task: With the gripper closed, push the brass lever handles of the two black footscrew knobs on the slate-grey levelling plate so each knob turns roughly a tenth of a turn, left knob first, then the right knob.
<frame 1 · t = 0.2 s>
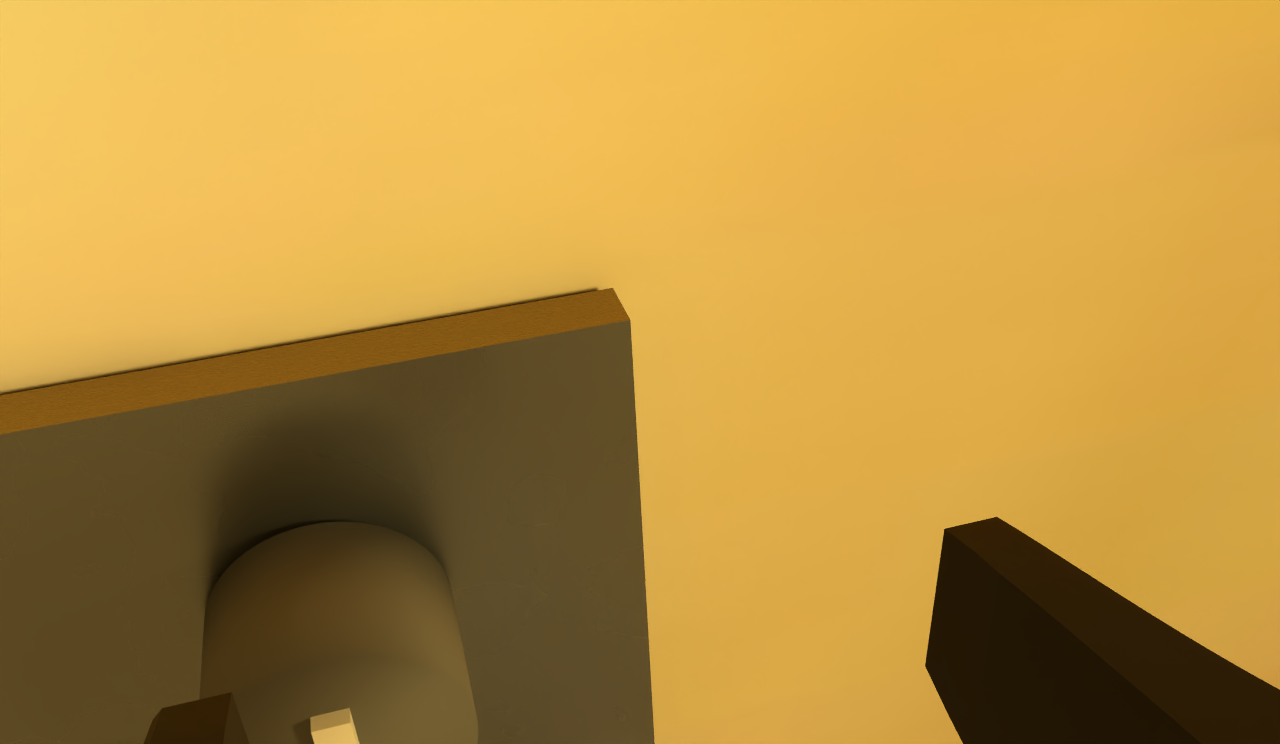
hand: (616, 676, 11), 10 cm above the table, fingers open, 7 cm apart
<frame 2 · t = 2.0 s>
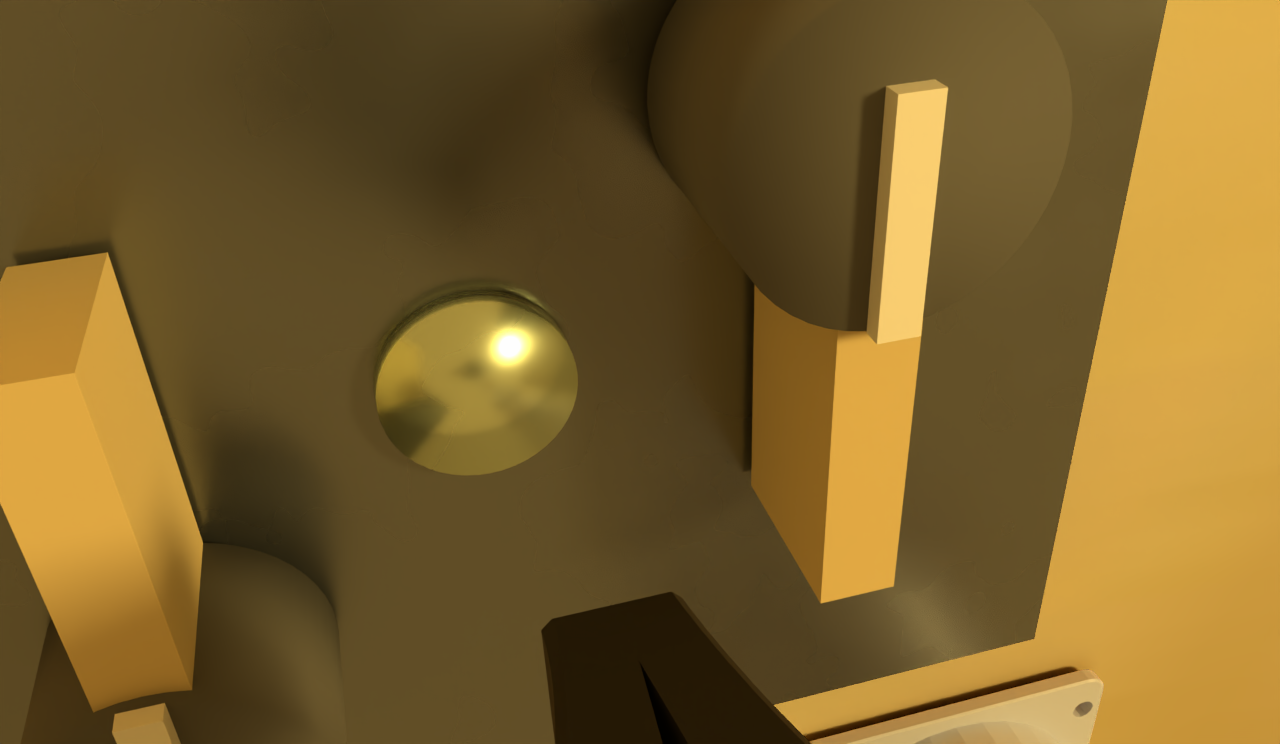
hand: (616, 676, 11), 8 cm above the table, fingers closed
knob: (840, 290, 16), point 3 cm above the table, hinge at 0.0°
levelling plate: (464, 340, 18), on the table
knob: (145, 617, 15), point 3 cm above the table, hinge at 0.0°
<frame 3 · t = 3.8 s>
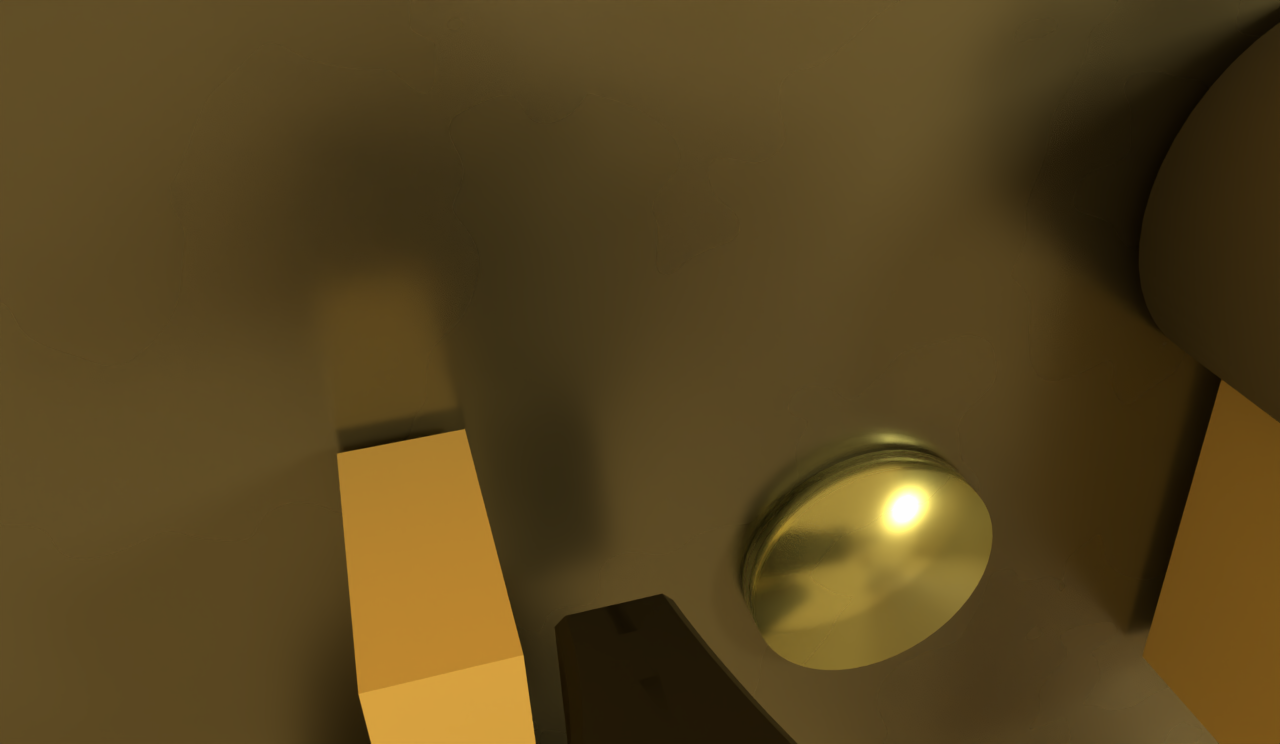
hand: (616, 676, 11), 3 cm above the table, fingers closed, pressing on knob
levelling plate: (820, 492, 14), on the table
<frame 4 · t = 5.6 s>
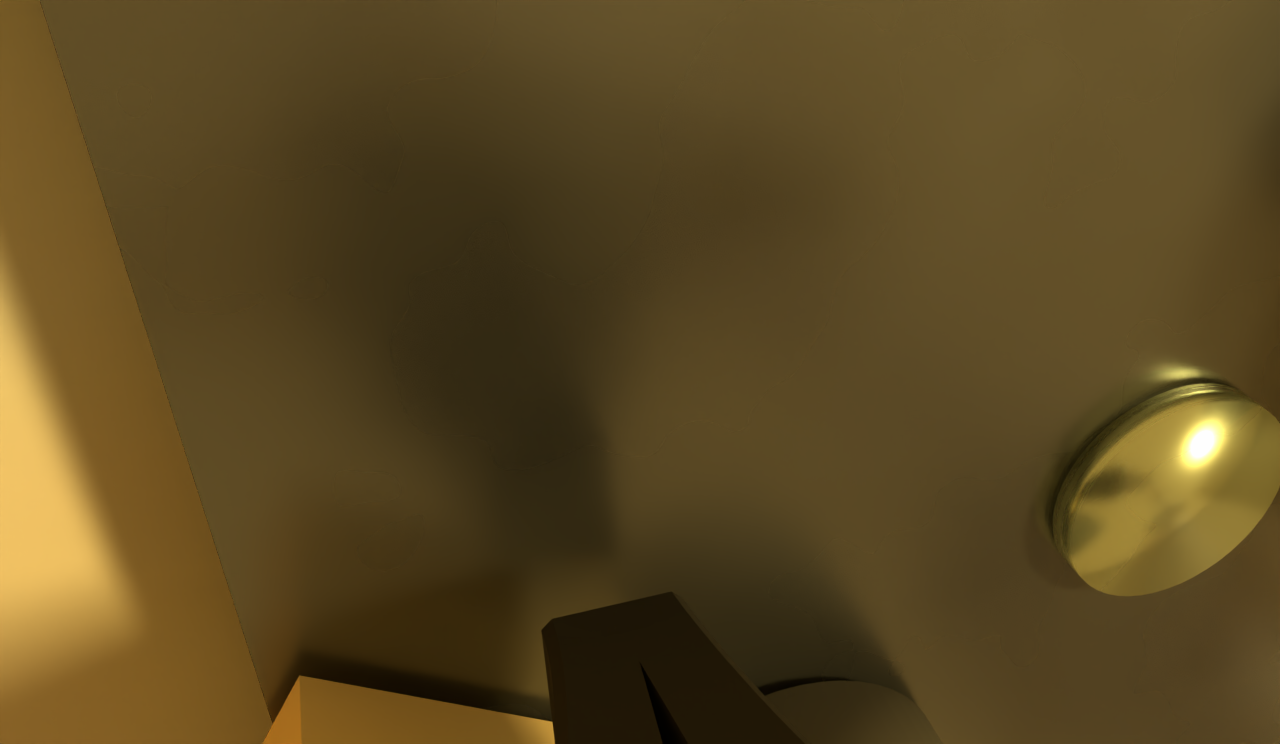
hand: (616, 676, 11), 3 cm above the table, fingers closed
levelling plate: (1101, 431, 15), on the table
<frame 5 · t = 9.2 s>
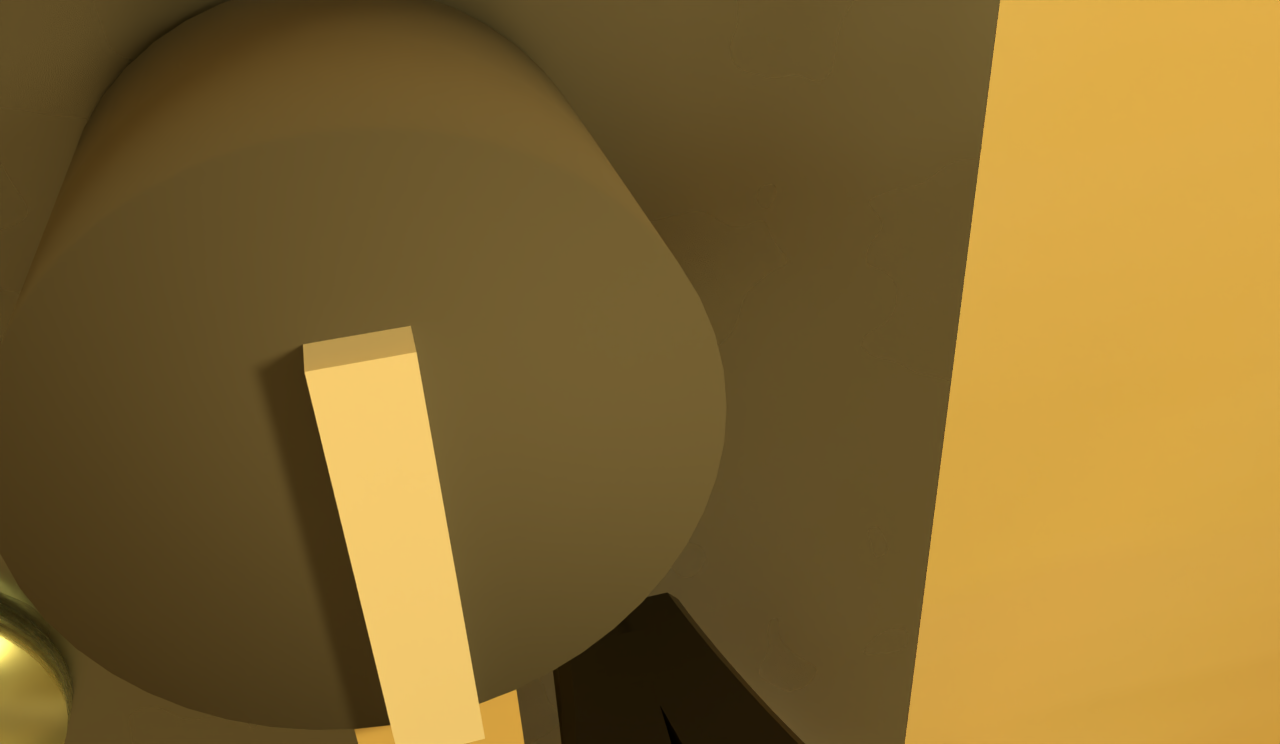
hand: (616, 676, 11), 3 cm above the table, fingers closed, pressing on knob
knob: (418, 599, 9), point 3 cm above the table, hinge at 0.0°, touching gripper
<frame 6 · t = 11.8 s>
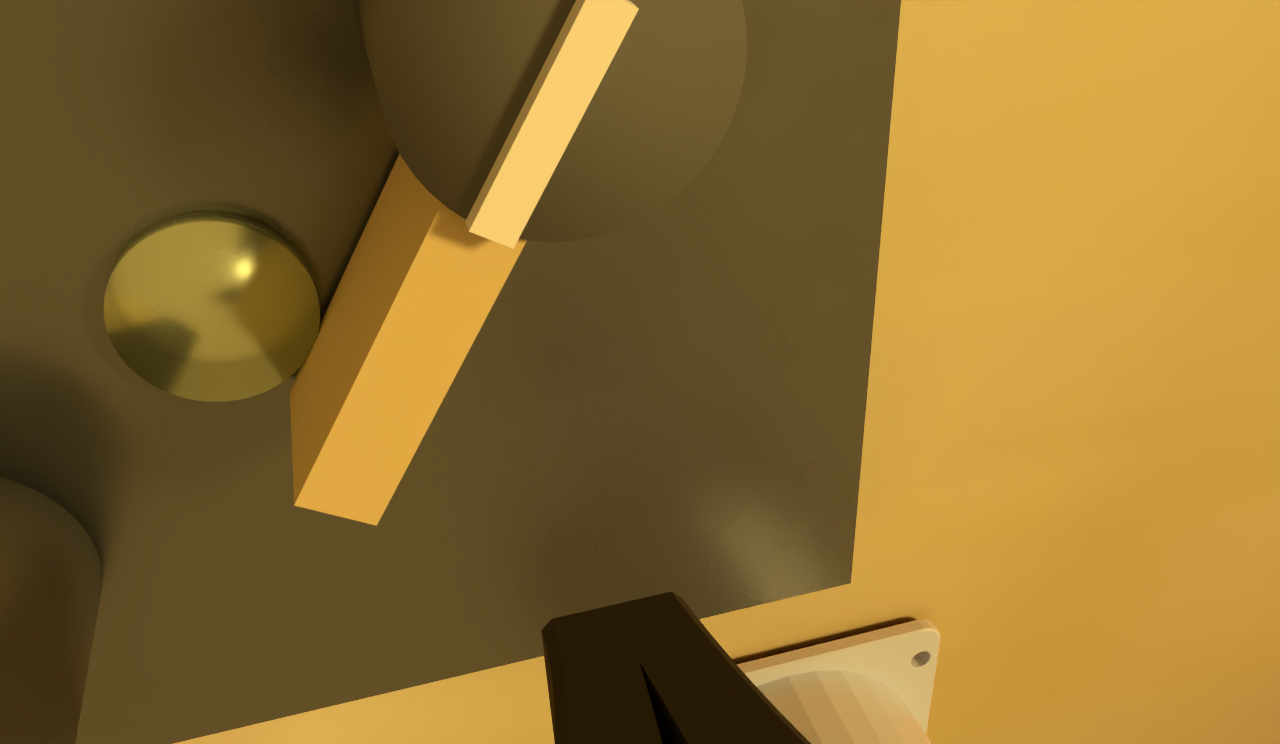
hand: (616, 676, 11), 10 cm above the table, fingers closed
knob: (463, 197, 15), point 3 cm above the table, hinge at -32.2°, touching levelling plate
levelling plate: (218, 268, 18), on the table
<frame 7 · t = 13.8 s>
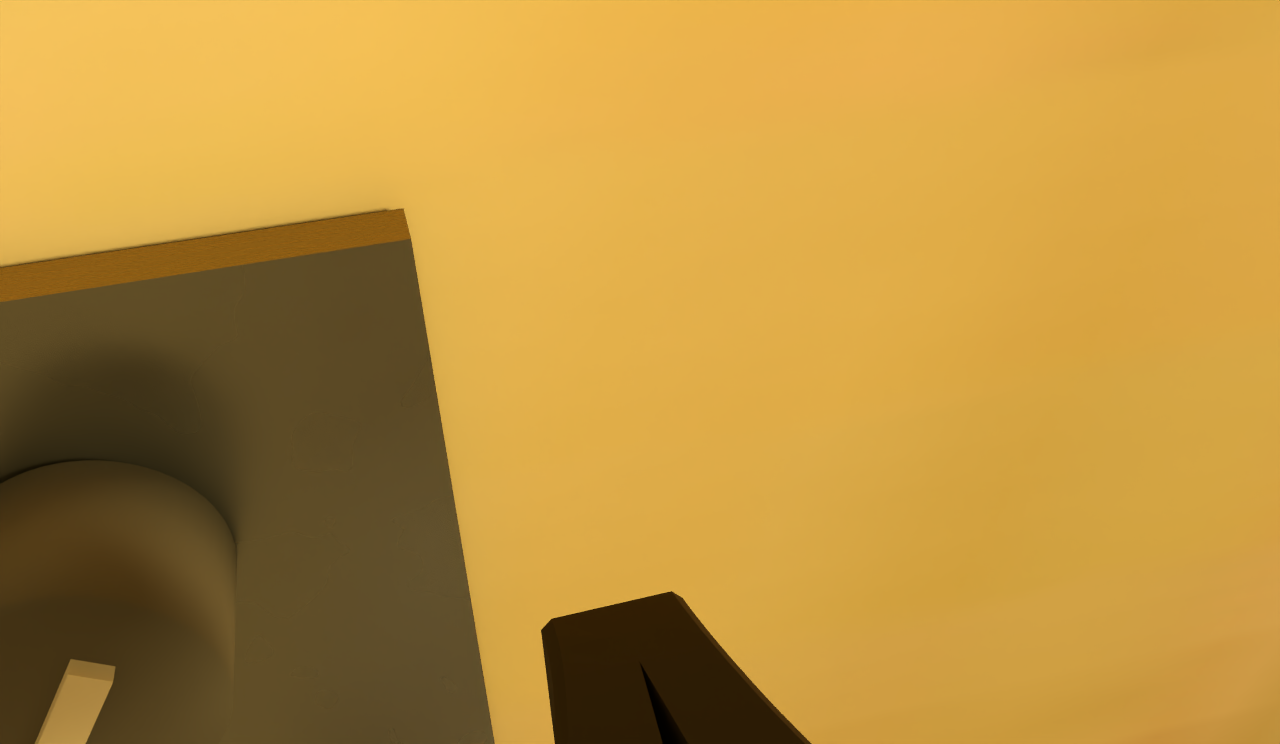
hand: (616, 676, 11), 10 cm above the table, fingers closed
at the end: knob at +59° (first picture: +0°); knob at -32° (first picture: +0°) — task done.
